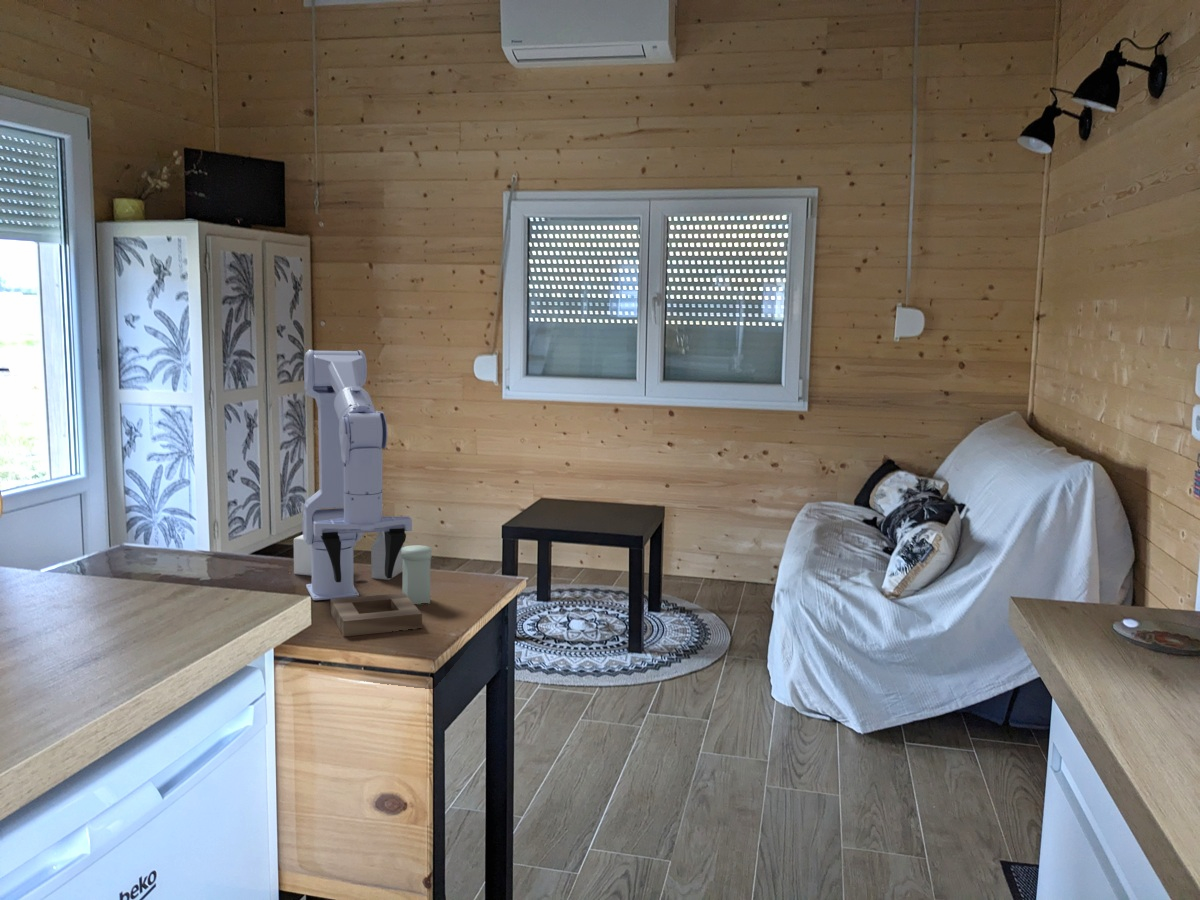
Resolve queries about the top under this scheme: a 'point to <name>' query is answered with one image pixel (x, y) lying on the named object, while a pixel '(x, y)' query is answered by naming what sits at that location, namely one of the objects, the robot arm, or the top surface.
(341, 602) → the walnut holder
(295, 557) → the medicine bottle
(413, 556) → the green peg
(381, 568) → the grey gabled block
